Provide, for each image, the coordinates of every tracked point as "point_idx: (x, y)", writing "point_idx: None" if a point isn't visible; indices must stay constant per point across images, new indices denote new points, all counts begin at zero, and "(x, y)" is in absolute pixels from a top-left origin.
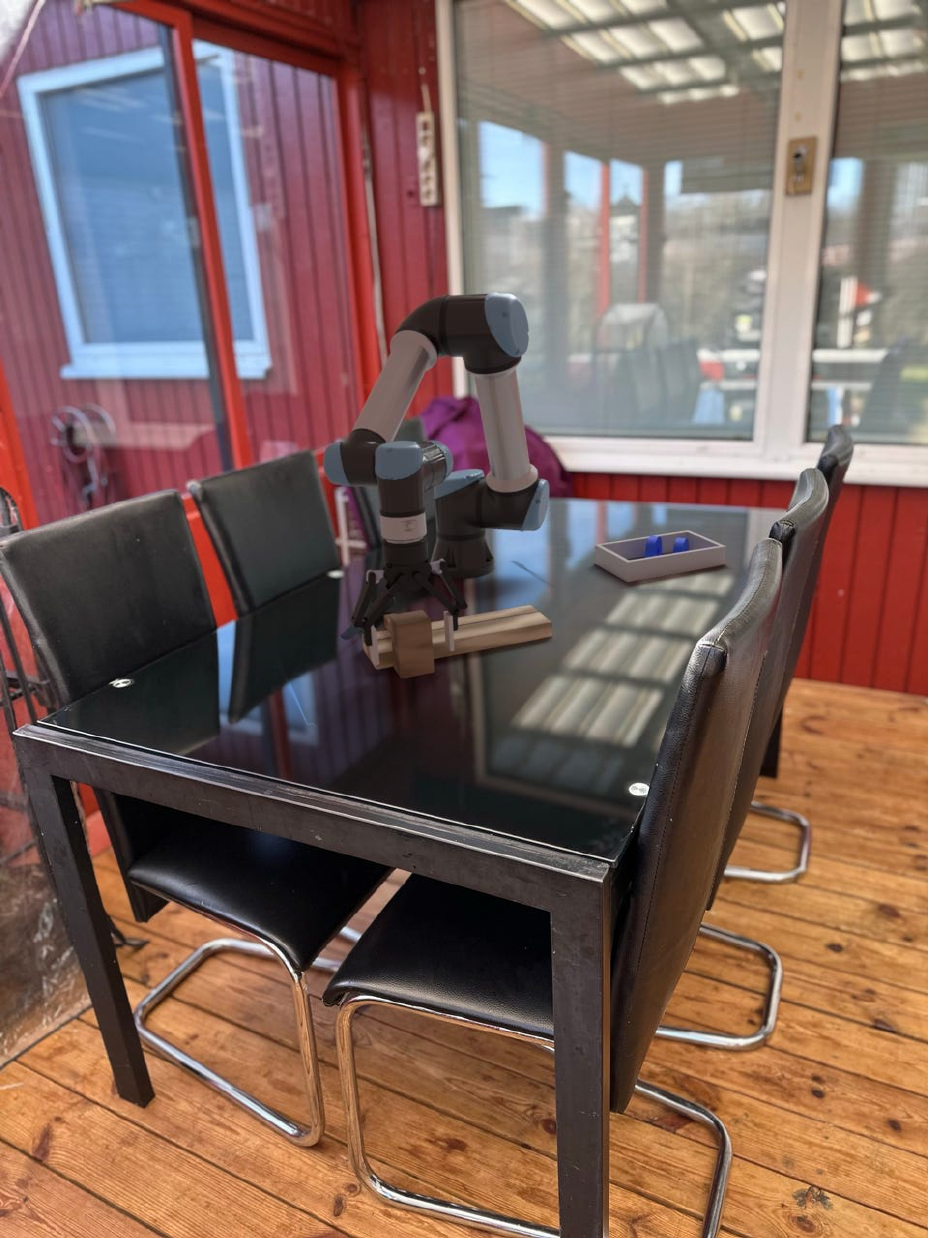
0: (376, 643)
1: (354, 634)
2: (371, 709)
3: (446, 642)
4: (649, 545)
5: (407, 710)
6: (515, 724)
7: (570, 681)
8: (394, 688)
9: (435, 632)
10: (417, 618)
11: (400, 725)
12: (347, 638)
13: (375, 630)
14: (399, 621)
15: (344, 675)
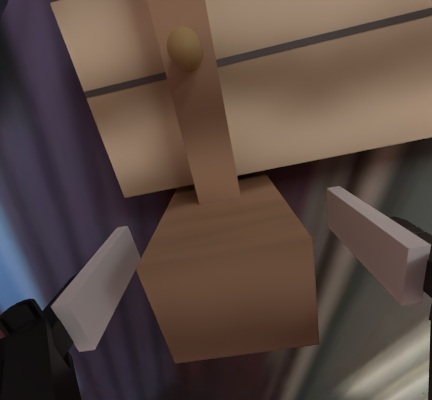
0: (116, 303)
1: None
2: (143, 327)
3: (333, 203)
4: None
5: None
6: (339, 391)
7: None
8: None
9: (328, 65)
10: (264, 326)
11: (188, 370)
12: (2, 3)
13: (94, 343)
14: (184, 336)
15: (67, 194)
